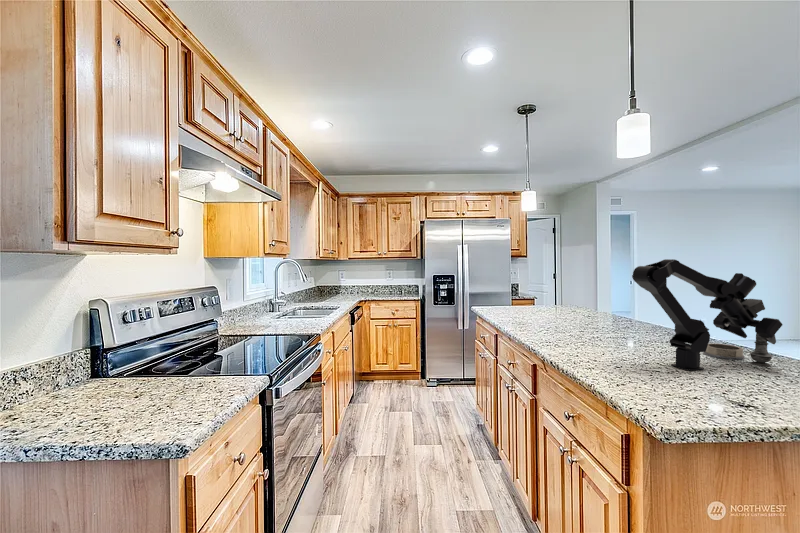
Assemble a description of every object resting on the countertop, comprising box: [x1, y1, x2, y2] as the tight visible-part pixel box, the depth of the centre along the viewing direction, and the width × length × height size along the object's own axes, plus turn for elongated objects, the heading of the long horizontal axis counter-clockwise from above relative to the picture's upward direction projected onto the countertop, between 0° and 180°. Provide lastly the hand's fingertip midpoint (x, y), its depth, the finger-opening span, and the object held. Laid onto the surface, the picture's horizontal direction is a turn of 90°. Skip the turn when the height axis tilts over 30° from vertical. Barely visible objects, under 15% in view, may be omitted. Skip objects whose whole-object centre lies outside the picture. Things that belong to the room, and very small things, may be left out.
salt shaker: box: [749, 332, 774, 368], centre depth 132 cm, size 6×6×12 cm
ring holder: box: [702, 342, 745, 361], centre depth 144 cm, size 12×12×3 cm
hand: (759, 340), depth 132 cm, fingers open, 9 cm apart
